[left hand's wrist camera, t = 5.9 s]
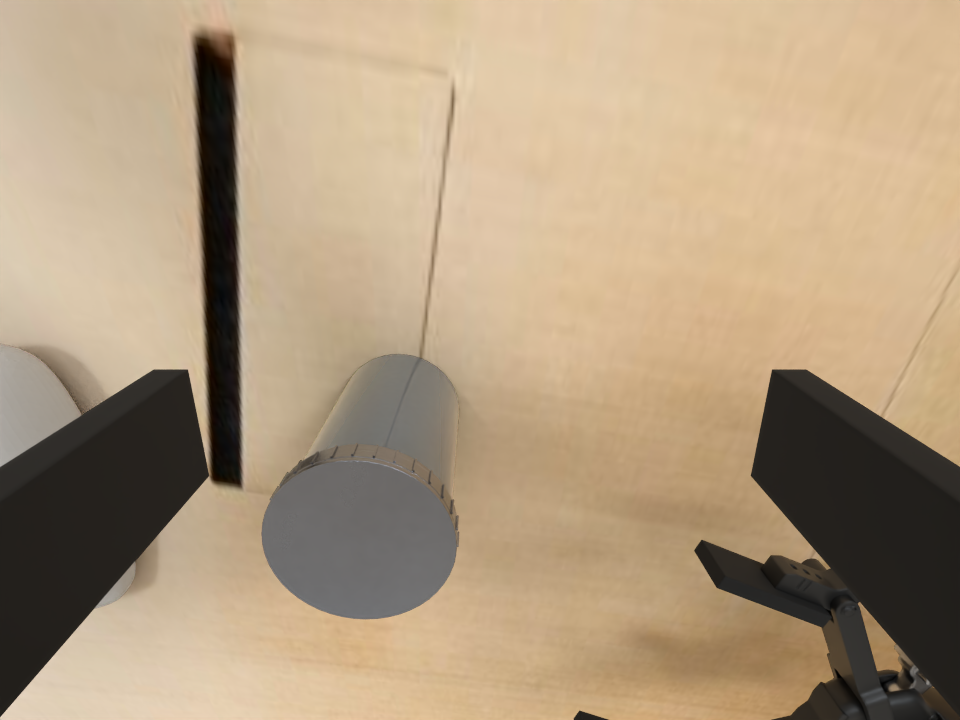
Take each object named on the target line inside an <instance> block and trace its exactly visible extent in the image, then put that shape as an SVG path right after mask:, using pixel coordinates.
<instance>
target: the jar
mask: <svg viewBox="0 0 960 720" xmlns="http://www.w3.org/2000/svg"><path fill="white" fill-rule="evenodd" d="M458 418H459V402H458V398H457V394H456V391H455V389H454V387H453V385H452V383H451V382H450V380H449V379H448V378H447V376H446V375H445V374H444V373H443V372H442V371H441V370H440V369H438V368H437V367H436V366H434V365H433V364H431V363H430V362H428V361H426V360H423V359H421V358H418V357H415V356H410V355H402V354H394V355H386V356H382V357H378V358H375V359H373V360H371V361H369V362H367V363H366V364H364V365H363V366H361V367H360V368H359V369H358V370H357V371H356V372H355V373H354V374H353V375H352V377H351V378H350V380H349V381H348V383H347V385H346V387H345V388H344V390H343V392H342V394H341V395H340V397H339V399H338V400H337V402H336V404H335V406H334V407H333V409H332V411H331V413H330V414H329V416H328V418H327V420H326V421H325V423H324V425H323V427H322V428H321V430H320V432H319V433H318V435H317V437H316V439H315V440H314V442H313V444H312V446H311V447H310V449H309V451H308V453H307V454H306V456H305V458H304V459H303V460H305V459H306V458H308V457H310V456H311V455H314V454H315V453H316V451H319V452H320V451H323V450H326V449H329V448H333V447H335V445H337V446H343V445H353V444H356V443H358V444H365V445H375V446H376V445H379V446H381V447H386V448H389V449H392V450H396V451H397V450H399V452H401V453H403V454H406V455H408V456H410V457H412V458H413V459H415V458H416V459H417V461H418V462H420V463H421V464H423V465H424V466H425V467H427V468H428V469H429V470H430V471H431V470H432V471H433V474H434V475H436V476H437V477H438V479H439V480H440V481H441V482H442V484H445V485H446V486H445V488H446V489H447V491H448V493H449V495H450V496H451V499H453V488H454V474H455V460H456V446H457V432H458Z"/></svg>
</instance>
